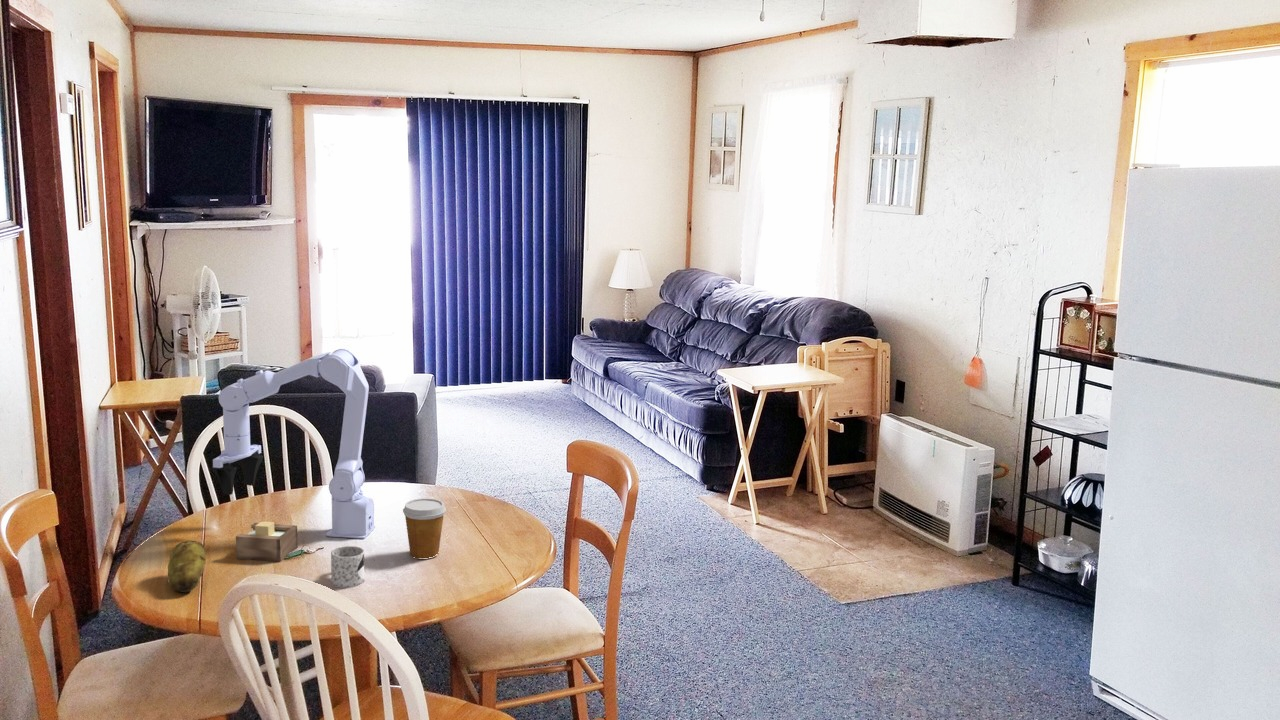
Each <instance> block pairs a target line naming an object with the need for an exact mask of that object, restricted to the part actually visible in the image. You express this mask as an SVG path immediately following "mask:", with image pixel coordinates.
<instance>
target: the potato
mask: <svg viewBox="0 0 1280 720" xmlns="http://www.w3.org/2000/svg"><path fill="white" fill-rule="evenodd" d="M206 561H207V554H206V552H205V547H204V545H203V543H202V542H199V541H197V540H191V539H190V540H185V541H181V542H179V543H178V544H176V545H175V546H174V548H173V549H172V551H171V553H170V556H169V560H168V565H167V581H168V584H169V586H170V587H171V589H173V590H174V591H177V592H181V593H187V592H191V591H192V590H194V589H195V588H196V587H197V586H198V584H200V579H201V578H202V576H203V574H204V570H205V569H204V568H205V565H206Z"/></svg>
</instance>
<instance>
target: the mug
mask: <svg viewBox="0 0 1280 720" xmlns="http://www.w3.org/2000/svg"><path fill="white" fill-rule="evenodd" d="M330 559H331V560H330V568H331V569H330V570H331V575H330V576H331V585H332V586H333V587H335V586H336V588H339V587H340V588H341V589H350V588H355V587H359V586H360V584H361V585H362V584H364V582H365V550H364V548H363V547H361V546H355V545H354V546H353V545H348V546H347V545H346V546H341V547H336V548H334V549H333V550H331V553H330ZM358 585H359V586H358ZM349 587H350V588H349ZM340 588H339V589H340Z"/></svg>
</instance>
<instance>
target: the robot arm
mask: <svg viewBox="0 0 1280 720" xmlns="http://www.w3.org/2000/svg"><path fill="white" fill-rule="evenodd" d="M307 376H312V377H315V378H319V377H321V378H323V379H324V380H325V381H327V382H328V383H331V384H333V385H334V386H336V387H338V388H339V389H340V390H341V391H342V392H343V393H344V394H345V401H344V408H343V409H344V410H343V417H342V420H343V421H342V426H341V435H340V436H341V438H340V442H339V443H340V445H339V453H338V459H337V463H336V465H335V468H334V472H333V473H334V474H333V477H332V478H331V480H330V481H329V484H328V490H329V493H330V495H331V529H330V530H329V531H327V532H326V533H325V536H326V537H335V538H350V539H365V538H367V537H368V535H369V534H370V533H371V532H372V531H373V530H374V529H375V528H376V526H375V503H374V499H373V498H371V497H367V496H365V495H364V493H363V490H362V488H361V487H362V486H363V484H364V483H365V480H366V477H365V473H364V469H363V463H364V461H363V459H362V457H361V456H362V449H363V440H364V431H365V424H366V423H365V422H366V416H367V407H368V399H369V392H370V391H369V390H370V388H369V387H370V386H369V383H368V381H367V378H366V375H365V374H364V372H363V370H362V367H361V362H360V359H359V358H358V357H356V355H354V353H353V352H351V351H350V350H349V349H345V348H338V349H335V350H334V351H332V353H331V351H329V352H325V353H321V354H318V355H314V356H312V357H309V358H307V359H304V360H302V361H300V362H298V363H295V364H292V365H291V366H289V367H287V368H284V369H282V370H279V371H277V372H274V371H271V370H265V371H264V370H263V369H260V370H258V371H256V372H255V375H252V376H249V377H247V378H245V379H243V378H239V379H238V380H236V382H235V383H232V384H230V385H227V386H226V387H224V388H222V389H221V391H220V392H219V394H218V403H219V404H220V406H221V408H222V415H223V416H222V422H223V424H222V425H223V450H221V453H220V455H219V456H217V457H215V458H213V459H212V465H211V471H213V473H214V474H215V475H216V476H215V477H217V480H218V482H219V484H220V487H221V491H222V493H223V495H227V496H228V495H229V496H232V495H233V492H234V482H235V475H236V473H237V469H238V467H236V466H232V465H231V463H234V462H237V461H239V462H240V464H241V468H242V474H243V481H244V485H245V486H251V487H253V486H254V485H255V483H256V478H257V473H258V470H259V469H260V465H261V464H262V462H263V460H264V455H262V445H261V444H251V427H250V426H251V425H250V424H251V423H250V422H251V421H250V403H252V404H253V403H255V402H257V401H260V400H263V399H265V398H267V397H270V396H273V395H275V394H277V393H279V390H280V387H281V386H282V385H285V384H288V383H290V382H293V381H296V380H298V379H301V378H304V377H307Z"/></svg>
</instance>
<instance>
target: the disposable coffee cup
mask: <svg viewBox="0 0 1280 720" xmlns="http://www.w3.org/2000/svg"><path fill="white" fill-rule="evenodd" d="M402 512H403V514H404V517H405V524H406V525H405V526H406V532H407V540H408V547H409V548H408V549H409V554H410V555H411V556H412V557H415V558H429V557H433V556H435V555H436V554H438V555H439V553H438V552H439V551H440V545H441V537H442V530H443V522H444V515H445V512H447V508H446V506H445V503H444V502H443V501H442V500H440V499H436V498H417V499H412V500H409V501H407V502H406V503H405V505H404V508H403V509H402ZM411 556H410V557H411ZM415 558H414V559H415Z"/></svg>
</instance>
